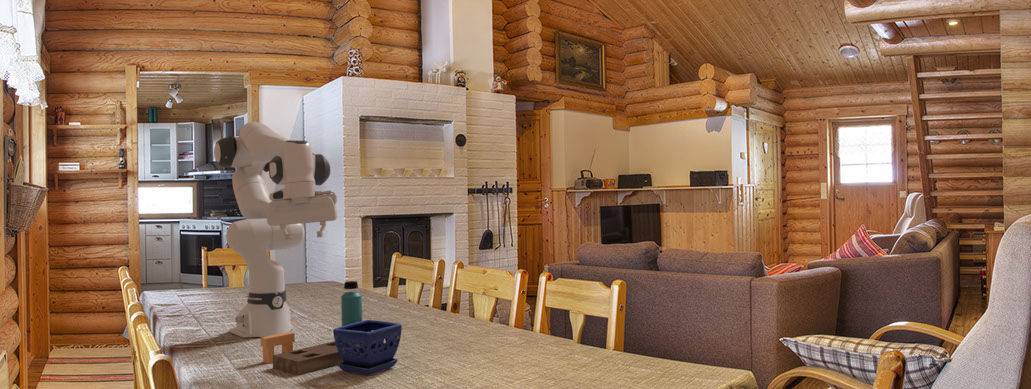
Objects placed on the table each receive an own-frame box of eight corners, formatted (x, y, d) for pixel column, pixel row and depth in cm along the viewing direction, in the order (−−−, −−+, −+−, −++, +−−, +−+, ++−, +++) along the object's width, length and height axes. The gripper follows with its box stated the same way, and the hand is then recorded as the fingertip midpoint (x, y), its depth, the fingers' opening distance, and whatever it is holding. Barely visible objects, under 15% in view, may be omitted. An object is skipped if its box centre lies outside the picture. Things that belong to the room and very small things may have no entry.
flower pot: (369, 379, 172) (368, 332, 172) (332, 372, 179) (331, 327, 179) (404, 367, 184) (403, 323, 184) (368, 361, 191) (367, 318, 191)
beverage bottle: (358, 349, 206) (356, 282, 205) (337, 348, 207) (336, 282, 207) (366, 344, 212) (365, 280, 212) (347, 343, 213) (345, 279, 213)
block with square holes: (273, 368, 185) (272, 355, 185) (345, 350, 204) (345, 339, 204) (298, 374, 177) (298, 361, 177) (371, 356, 196) (371, 344, 196)
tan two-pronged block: (266, 363, 190) (266, 338, 190) (261, 362, 191) (260, 337, 191) (294, 357, 197) (294, 333, 197) (289, 355, 198) (288, 331, 198)
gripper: (337, 190, 209) (340, 235, 209) (269, 196, 207) (272, 241, 207) (333, 189, 203) (337, 235, 202) (263, 194, 201) (266, 241, 200)
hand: (304, 238), depth 204 cm, fingers open, 8 cm apart
